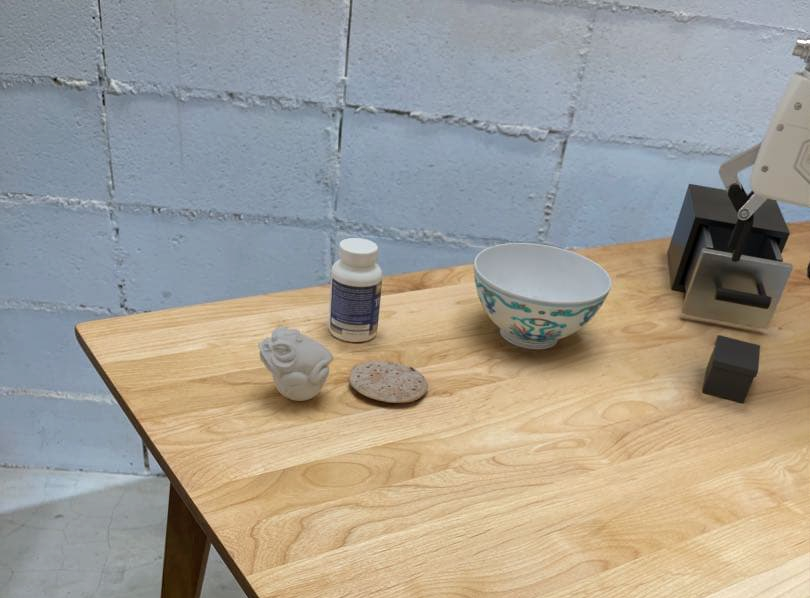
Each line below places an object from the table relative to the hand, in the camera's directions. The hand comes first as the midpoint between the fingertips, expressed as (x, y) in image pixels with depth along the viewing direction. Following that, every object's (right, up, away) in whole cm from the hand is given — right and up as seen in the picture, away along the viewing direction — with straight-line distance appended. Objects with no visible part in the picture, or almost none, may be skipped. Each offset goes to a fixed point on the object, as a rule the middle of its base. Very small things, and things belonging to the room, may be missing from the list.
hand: (773, 264), depth 83 cm
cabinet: (+5, +9, +31) cm, 33 cm away
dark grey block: (-1, -10, +9) cm, 14 cm away
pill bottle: (-42, -4, +9) cm, 44 cm away
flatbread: (-38, -12, +1) cm, 40 cm away
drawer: (+3, +2, +22) cm, 22 cm away
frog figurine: (-47, -14, -2) cm, 49 cm away
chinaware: (-22, -4, +13) cm, 26 cm away
